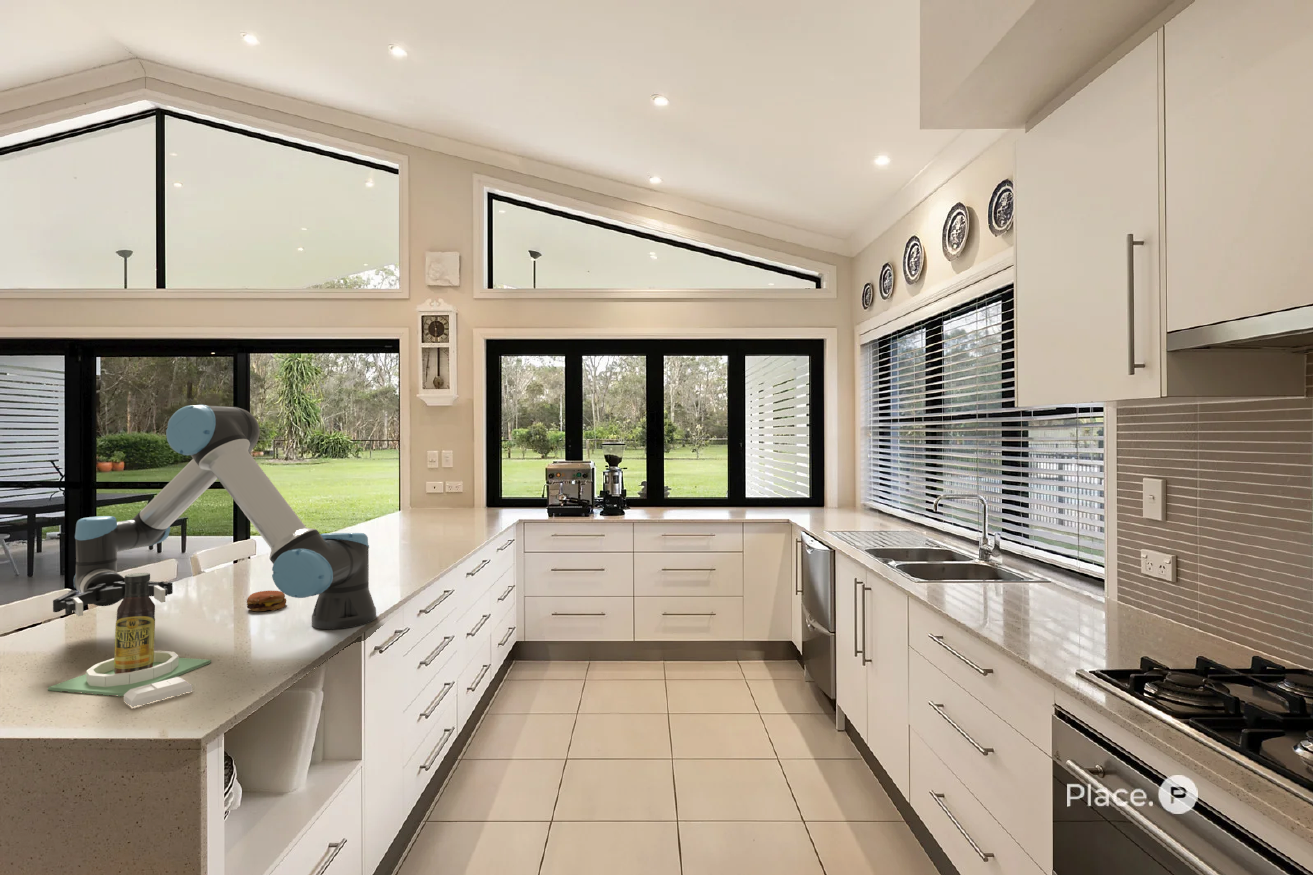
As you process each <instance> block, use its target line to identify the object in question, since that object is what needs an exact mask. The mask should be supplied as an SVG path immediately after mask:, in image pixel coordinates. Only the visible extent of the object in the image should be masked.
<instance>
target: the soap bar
mask: <svg viewBox="0 0 1313 875" xmlns="http://www.w3.org/2000/svg"><path fill="white" fill-rule="evenodd" d="M191 691H192V692H193V684H191V683H190V682H188V681H187V680H185V679H184V678H181V676H176V677H174V678H171V679H168V680H164V681H160V682H156V683H152V684H148V685H145V686H141V687H137V688H133V689H130V690H129V691H128V692H126V693H125V694H124V697H123V702H124V701H125V702H126V703H127V704H129V705H131V706H132V707H134V706H137V705H143V704H147V703H150V702H153V701H156V700H162V699H165V698H167V697H171V696H177V695H180V694H183V693H186V692H191ZM177 697H178V696H177ZM127 704H126V705H127Z"/></svg>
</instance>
